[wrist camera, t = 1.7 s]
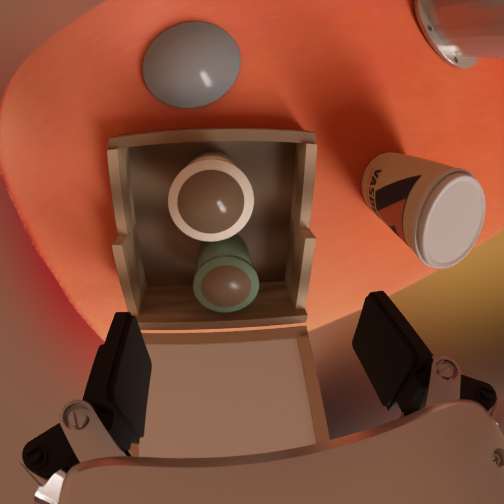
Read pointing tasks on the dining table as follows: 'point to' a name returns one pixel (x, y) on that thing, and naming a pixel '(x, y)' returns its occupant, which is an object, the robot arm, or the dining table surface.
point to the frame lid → (231, 394)
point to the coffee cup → (426, 205)
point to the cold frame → (187, 248)
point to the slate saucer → (191, 64)
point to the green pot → (225, 275)
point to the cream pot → (211, 197)
